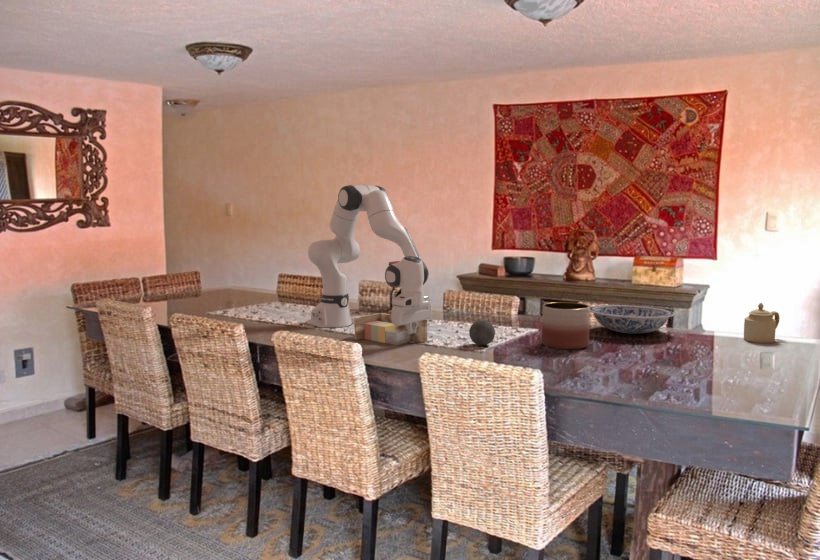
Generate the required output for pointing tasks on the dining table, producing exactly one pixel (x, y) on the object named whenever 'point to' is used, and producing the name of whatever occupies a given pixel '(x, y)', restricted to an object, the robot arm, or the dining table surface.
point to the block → (397, 336)
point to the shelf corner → (359, 322)
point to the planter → (565, 325)
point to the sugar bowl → (761, 325)
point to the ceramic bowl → (631, 318)
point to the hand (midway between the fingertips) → (412, 333)
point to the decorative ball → (482, 332)
